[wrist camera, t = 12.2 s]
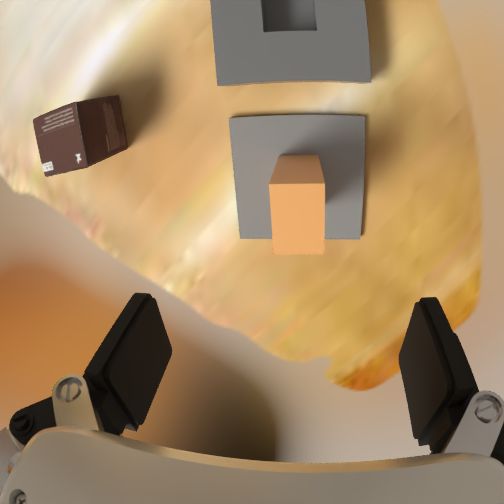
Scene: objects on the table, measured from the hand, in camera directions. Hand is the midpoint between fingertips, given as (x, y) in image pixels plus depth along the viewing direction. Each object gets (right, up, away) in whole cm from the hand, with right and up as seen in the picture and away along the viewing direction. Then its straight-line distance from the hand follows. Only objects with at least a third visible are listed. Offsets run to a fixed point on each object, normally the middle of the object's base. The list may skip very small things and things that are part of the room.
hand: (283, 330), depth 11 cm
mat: (+3, +10, +18) cm, 21 cm away
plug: (+3, +9, +17) cm, 20 cm away
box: (-17, +16, +18) cm, 30 cm away
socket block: (+2, +24, +10) cm, 26 cm away
